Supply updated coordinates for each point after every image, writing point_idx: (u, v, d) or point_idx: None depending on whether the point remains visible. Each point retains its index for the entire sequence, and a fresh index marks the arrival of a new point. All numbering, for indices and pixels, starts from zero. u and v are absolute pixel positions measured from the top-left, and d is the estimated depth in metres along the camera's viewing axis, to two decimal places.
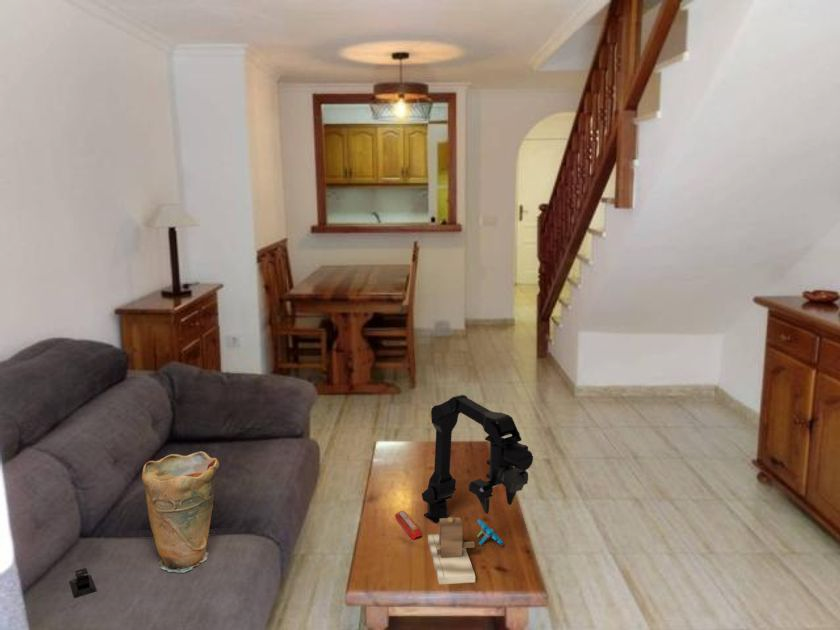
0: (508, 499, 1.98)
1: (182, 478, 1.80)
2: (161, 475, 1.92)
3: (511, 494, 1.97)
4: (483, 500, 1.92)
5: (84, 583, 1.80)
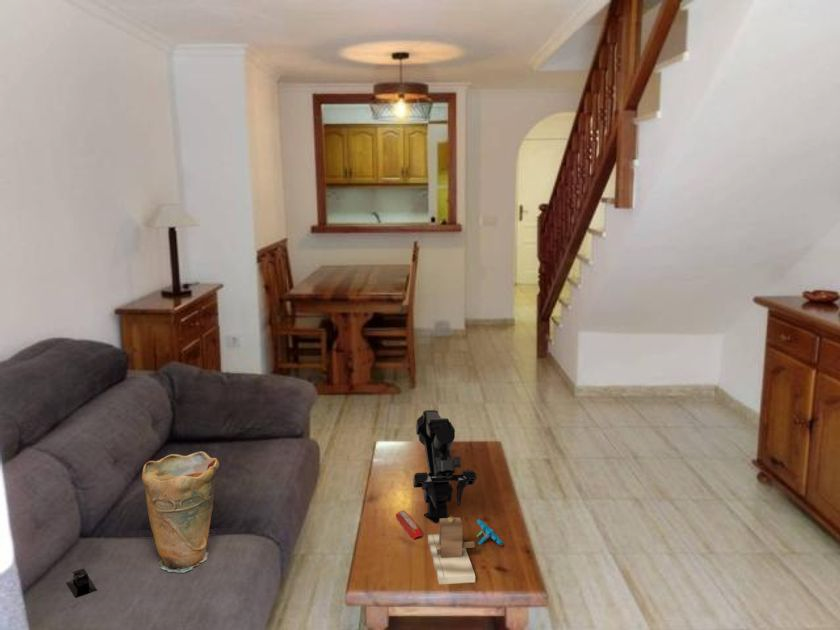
0: (457, 501, 2.01)
1: (182, 478, 1.80)
2: (161, 475, 1.92)
3: (458, 494, 2.01)
4: (430, 493, 2.01)
5: (84, 583, 1.80)
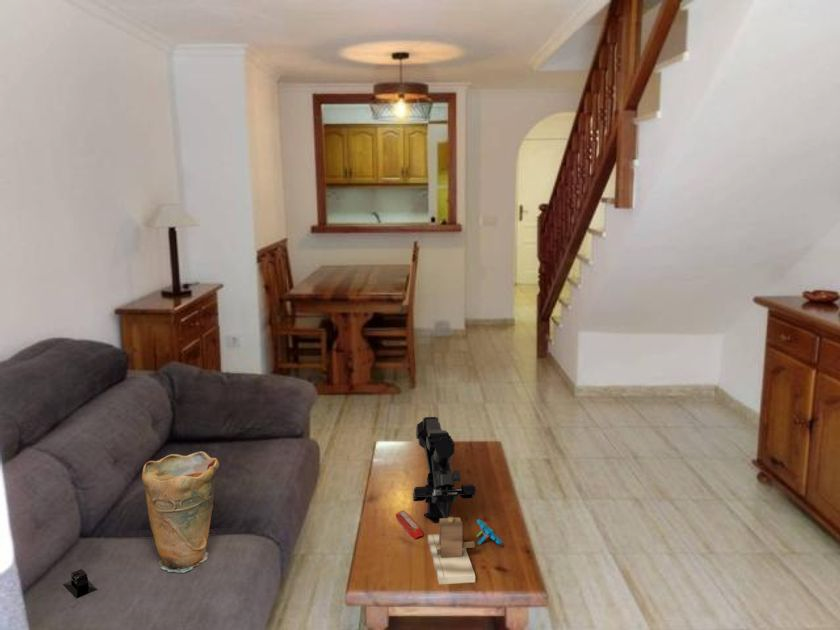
0: None
1: (182, 478, 1.80)
2: (161, 475, 1.92)
3: (447, 508, 2.01)
4: (441, 507, 2.02)
5: (83, 583, 1.80)
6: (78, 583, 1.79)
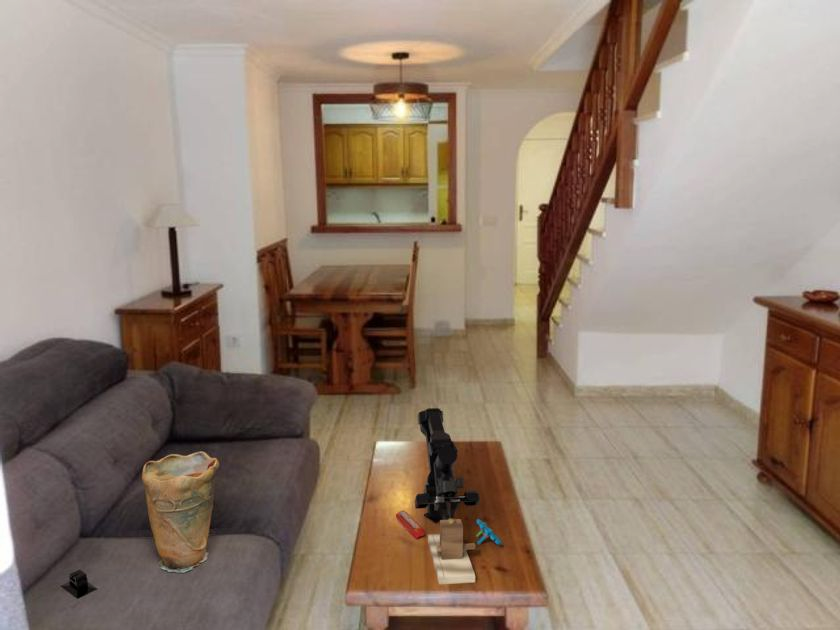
0: None
1: (182, 478, 1.80)
2: (161, 475, 1.92)
3: (449, 516, 1.96)
4: (443, 514, 1.97)
5: (83, 584, 1.80)
6: (78, 583, 1.78)
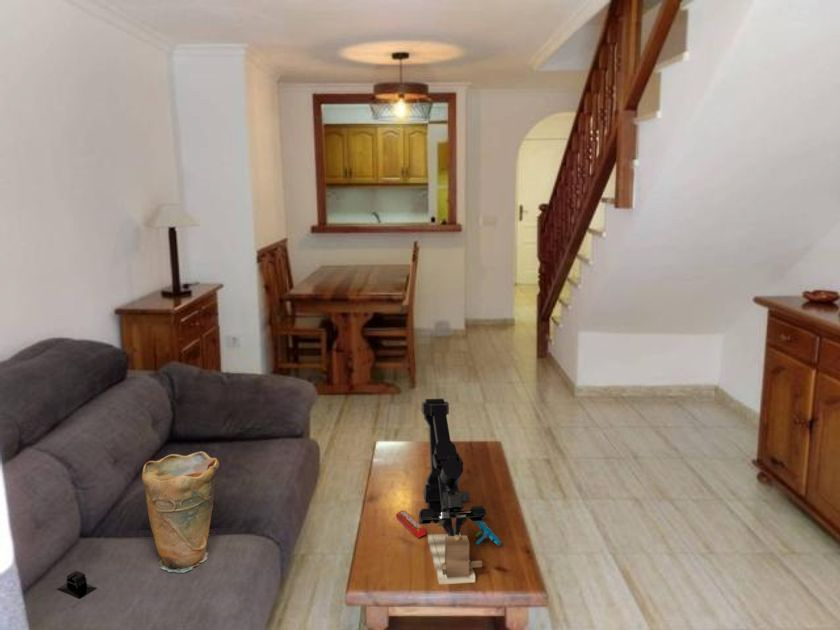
0: None
1: (182, 478, 1.80)
2: (161, 475, 1.92)
3: (455, 532, 1.87)
4: (448, 530, 1.88)
5: (82, 584, 1.79)
6: (78, 584, 1.78)
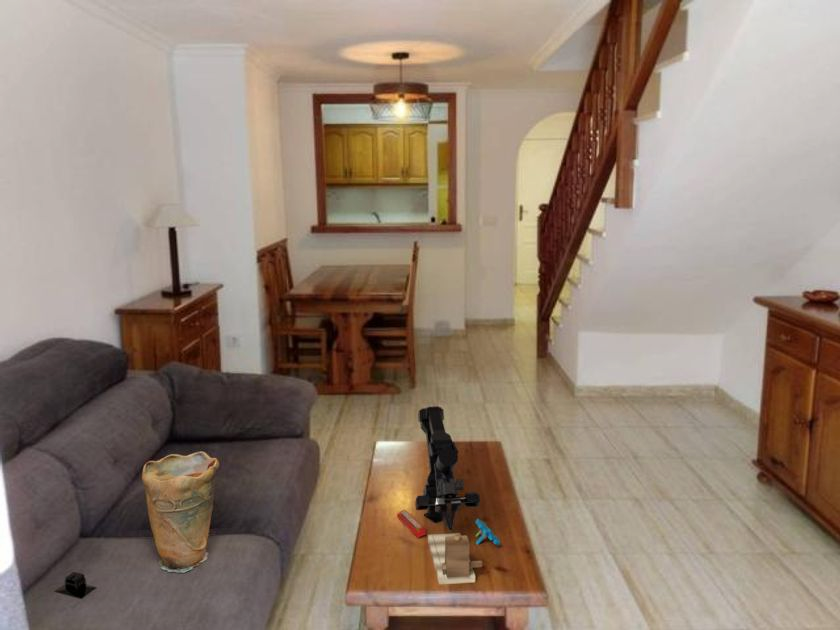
0: None
1: (182, 478, 1.80)
2: (162, 475, 1.92)
3: (450, 518, 1.96)
4: (444, 516, 1.96)
5: (82, 584, 1.79)
6: (78, 584, 1.78)
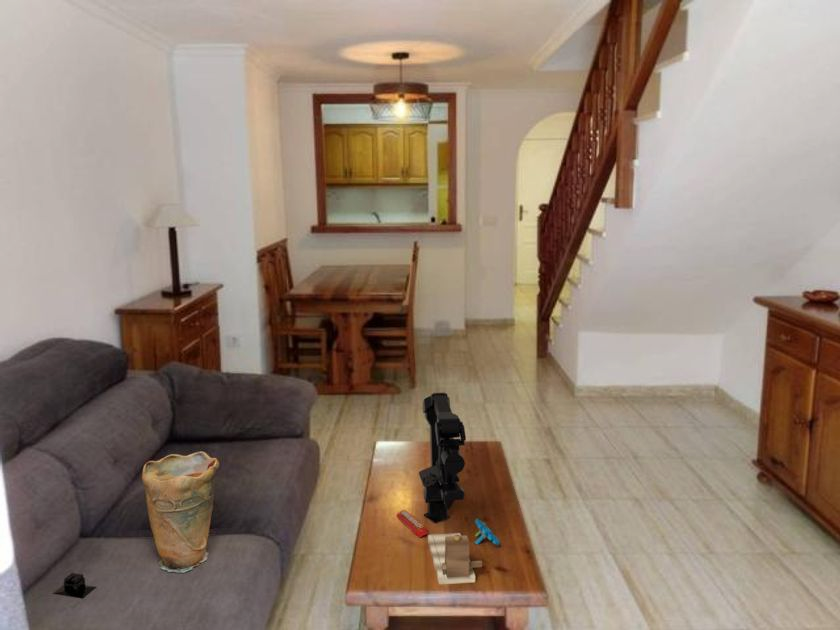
0: None
1: (182, 478, 1.80)
2: (162, 475, 1.92)
3: None
4: None
5: (81, 584, 1.79)
6: (78, 585, 1.78)
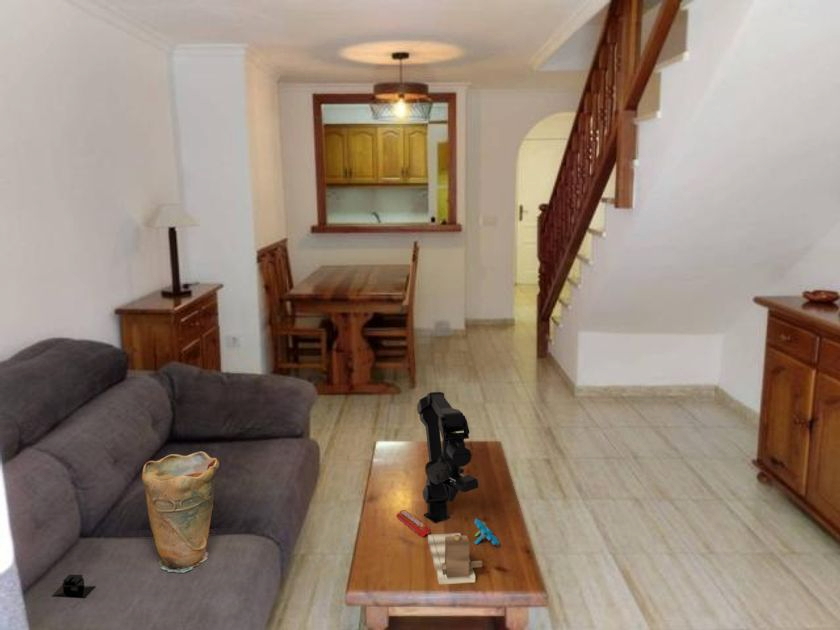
0: None
1: (182, 478, 1.80)
2: (161, 475, 1.92)
3: None
4: None
5: (81, 585, 1.79)
6: (78, 585, 1.78)
